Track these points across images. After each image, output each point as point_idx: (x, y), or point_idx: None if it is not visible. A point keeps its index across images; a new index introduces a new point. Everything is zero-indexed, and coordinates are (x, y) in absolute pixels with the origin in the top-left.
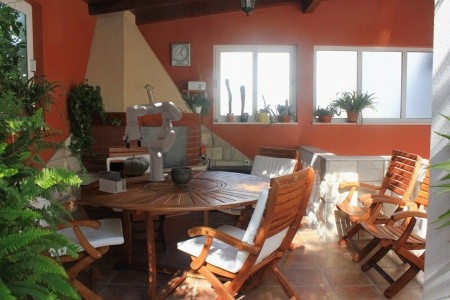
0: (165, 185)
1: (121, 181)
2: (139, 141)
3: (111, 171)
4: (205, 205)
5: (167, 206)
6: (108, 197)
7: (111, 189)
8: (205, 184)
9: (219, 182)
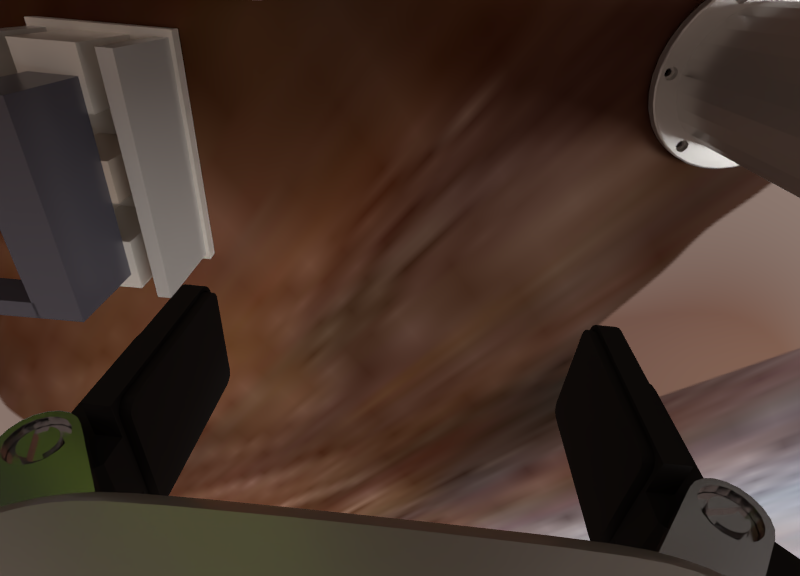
0: (529, 317)
1: (137, 284)
2: (622, 541)
3: (18, 197)
4: None
5: None
6: None
7: None
8: None
9: (751, 481)
